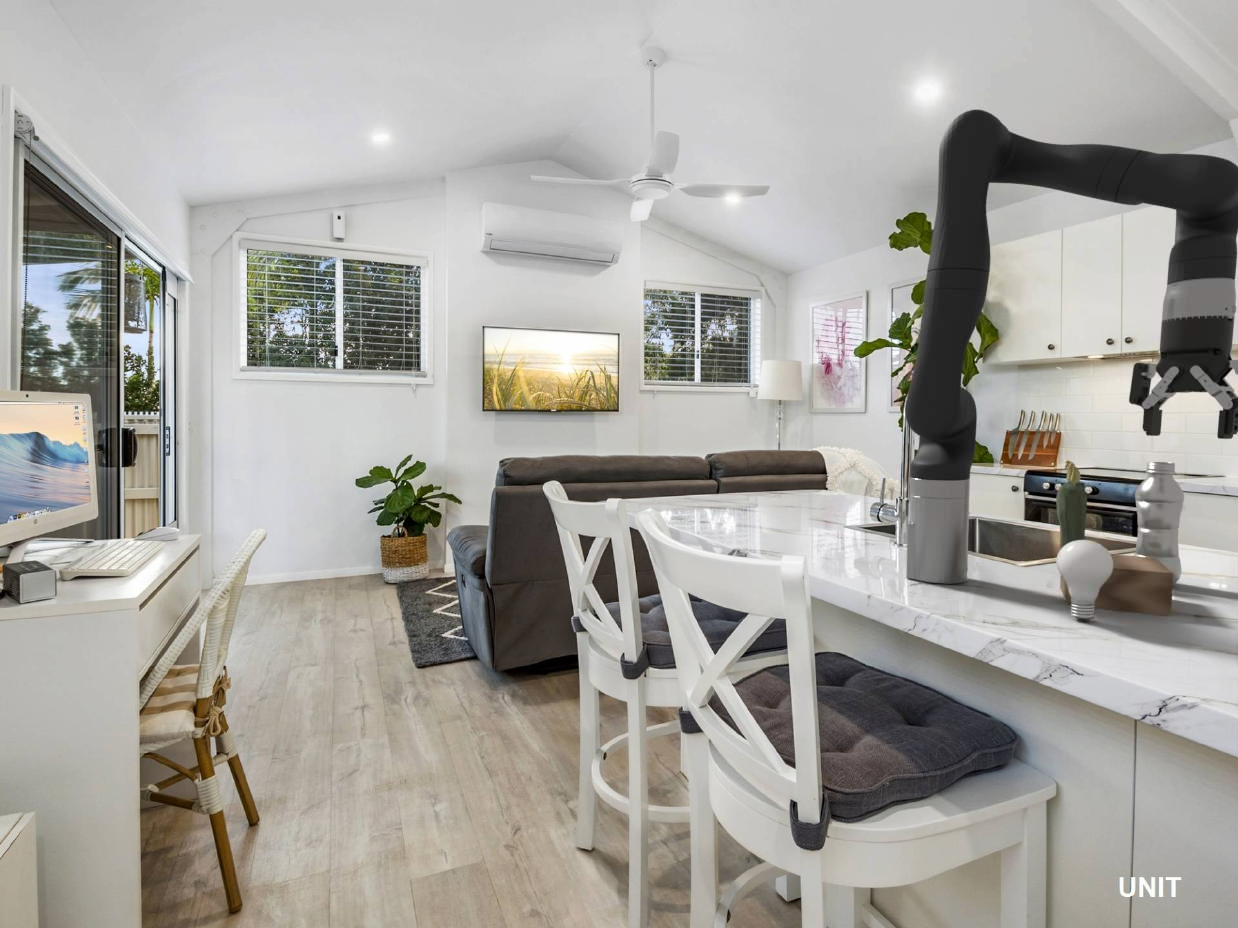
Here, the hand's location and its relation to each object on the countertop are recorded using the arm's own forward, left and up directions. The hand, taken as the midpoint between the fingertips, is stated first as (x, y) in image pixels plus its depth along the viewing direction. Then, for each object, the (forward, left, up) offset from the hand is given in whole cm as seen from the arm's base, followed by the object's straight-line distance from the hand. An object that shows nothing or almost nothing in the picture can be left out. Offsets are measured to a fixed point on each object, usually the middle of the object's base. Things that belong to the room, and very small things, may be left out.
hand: (1187, 437), depth 94 cm
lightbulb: (-12, -9, -25) cm, 29 cm away
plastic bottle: (+1, +21, -25) cm, 32 cm away
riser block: (-7, +5, -25) cm, 26 cm away
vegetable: (-11, +21, -25) cm, 34 cm away
